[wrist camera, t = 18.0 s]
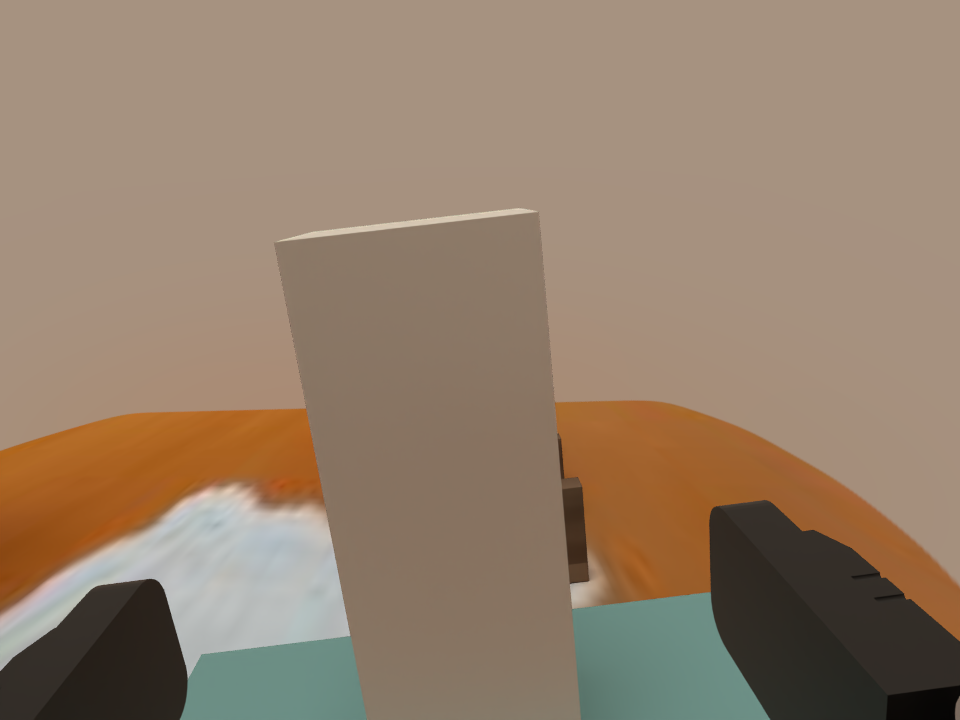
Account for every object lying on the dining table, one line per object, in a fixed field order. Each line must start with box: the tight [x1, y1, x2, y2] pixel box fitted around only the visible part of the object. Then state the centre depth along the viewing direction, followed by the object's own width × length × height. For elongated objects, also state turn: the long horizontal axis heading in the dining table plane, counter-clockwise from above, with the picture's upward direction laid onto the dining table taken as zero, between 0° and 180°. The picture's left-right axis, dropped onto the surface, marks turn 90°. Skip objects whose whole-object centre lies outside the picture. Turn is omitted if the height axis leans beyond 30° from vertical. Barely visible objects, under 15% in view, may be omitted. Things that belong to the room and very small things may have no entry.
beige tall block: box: [274, 208, 581, 720], centre depth 18 cm, size 4×6×16 cm, turn 93°
